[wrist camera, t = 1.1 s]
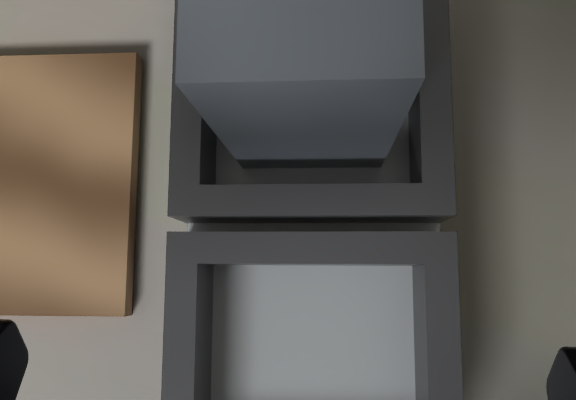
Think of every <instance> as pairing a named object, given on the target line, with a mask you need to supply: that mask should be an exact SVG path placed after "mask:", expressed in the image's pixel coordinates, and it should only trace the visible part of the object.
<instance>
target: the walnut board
mask: <svg viewBox="0 0 576 400" xmlns="http://www.w3.org/2000/svg"><path fill="white" fill-rule="evenodd" d="M142 62H143V60H142V59H141V57H140V56H139V55H138V54H137V53H136V52H135V53H95V54H55V55H15V56H0V315H29V316H130V315H132V296H133V272H134V249H135V226H136V202H137V179H138V155H139V132H140V108H141V85H142Z"/></svg>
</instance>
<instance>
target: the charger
mask: <svg viewBox="0 0 576 400" xmlns="http://www.w3.org/2000/svg"><path fill="white" fill-rule="evenodd" d="M424 79H425V58H424V26H423V0H178V14H177V44H176V73H175V84H176V85H177V86H178V88H179V89H180V90H181V91H182V93H183V94H184V95H185V96H186V98H187V99H188V100H189V101H190V103H191V104H192V105H193V106H194V108H195V109H196V110H197V111H198V113H199V114H200V115H201V116H202V118H203V119H204V120H205V121H206V123H207V124H208V125H209V127H210V128H211V129H212V130H213V132H214V133H215V134H216V135H217V137H218V138H219V139H220V140H221V142H222V143H223V144H224V145H225V147H226V148H227V149H228V150H229V152H230V153H231V154H232V155H233V157H234V158H235V159H236V160H237V162H238V163H239V164H240V166H241V167H242V168H243V169H260V168H367V167H382V165H383V163H384V161H385V159H386V157H387V155H388V153H389V151H390V149H391V147H392V145H393V143H394V141H395V138H396V136H397V134H398V132H399V130H400V128H401V126H402V124H403V122H404V120H405V118H406V116H407V114H408V112H409V110H410V108H411V106H412V104H413V102H414V100H415V98H416V96H417V94H418V92H419V90H420V87H421V85H422V83H423V81H424Z"/></svg>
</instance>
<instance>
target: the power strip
mask: <svg viewBox="0 0 576 400" xmlns="http://www.w3.org/2000/svg"><path fill="white" fill-rule="evenodd" d="M177 14H178V0H175V16H174V45H173V73H172V102H171V131H170V160H169V188H168V216H169V217H172V218H174V219H177V220H180V221H182V222H185V223H187V232H167V246H166V275H165V303H164V332H163V361H162V390H161V400H463V380H462V353H461V326H460V299H459V272H458V245H457V231H440V223H441V222H443V221H445V220H447V219H449V218H451V217H453V216H455V215H456V192H455V165H454V138H453V111H452V84H451V57H450V31H449V4H448V0H423V26H424V58H425V79H424V81H423V83H422V85H421V87H420V90H419V92H418V94H417V96H416V98H415V100H414V102H413V104H412V106H411V108H410V110H409V112H408V114H407V116H406V118H405V120H404V122H403V124H402V126H401V128H400V130H399V132H398V134H397V136H396V138H395V141H394V143H393V145H392V147H391V149H390V151H389V153H388V155H387V157H386V159H385V161H384V163H383V165H382V167H367V168H260V169H243V168H242V167H241V166H240V164H239V163H238V162H237V160H236V159H235V158H234V157H233V155H232V154H231V153H230V152H229V150H228V149H227V148H226V147H225V145H224V144H223V143H222V142H221V140H220V139H219V138H218V137H217V135H216V134H215V133H214V132H213V130H212V129H211V128H210V127H209V125H208V124H207V123H206V121H205V120H204V119H203V118H202V116H201V115H200V114H199V113H198V111H197V110H196V109H195V108H194V106H193V105H192V104H191V103H190V101H189V100H188V99H187V98H186V96H185V95H184V94H183V93H182V91H181V90H180V89H179V88H178V86H177V85H176V84H175V73H176V44H177Z"/></svg>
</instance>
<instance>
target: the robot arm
mask: <svg viewBox="0 0 576 400" xmlns="http://www.w3.org/2000/svg"><path fill="white" fill-rule="evenodd" d="M27 364H28V350H27V348H26V345H25V343H24V341H23V339H22V336H21V334H20V332H19V330H18V327H17V325H16V324H15V323H14V322H13V321H12V320H4V319H0V400H16V397H17V394H18V391H19V388H20V385H21V382H22V379H23V376H24V373H25V370H26V367H27ZM546 388H547V396H548V400H576V347H562V348H561V349H560V350H559V351H558V353H557V355H556V358H555V360H554V363H553V365H552V368H551V370H550V373H549V375H548V378H547V385H546Z"/></svg>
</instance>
